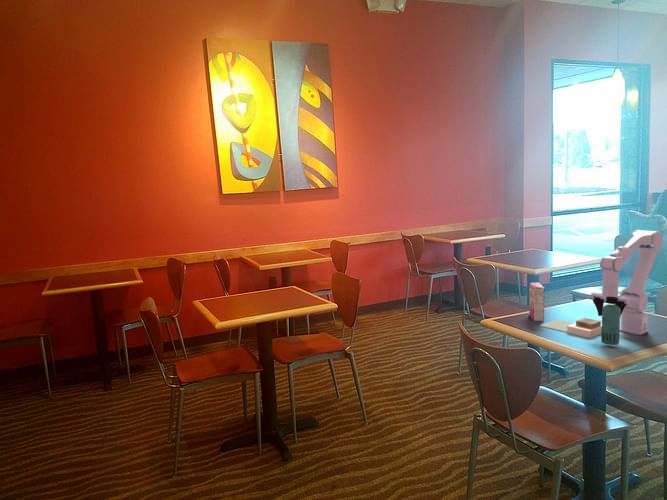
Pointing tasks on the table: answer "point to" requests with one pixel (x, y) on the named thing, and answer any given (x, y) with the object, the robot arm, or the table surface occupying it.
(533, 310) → the candy bar box
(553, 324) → the mat
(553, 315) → the table surface
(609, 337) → the beverage bottle
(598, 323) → the walnut tile
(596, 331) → the pale pink flat block
